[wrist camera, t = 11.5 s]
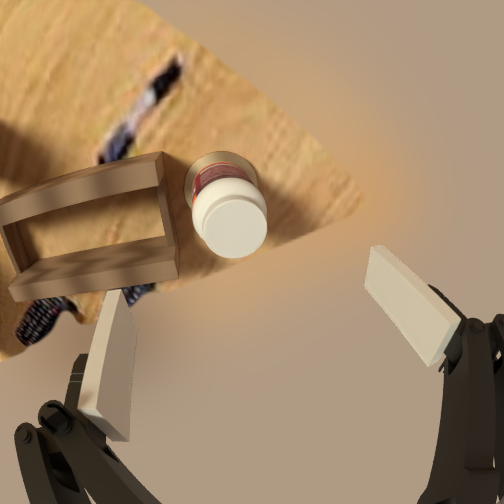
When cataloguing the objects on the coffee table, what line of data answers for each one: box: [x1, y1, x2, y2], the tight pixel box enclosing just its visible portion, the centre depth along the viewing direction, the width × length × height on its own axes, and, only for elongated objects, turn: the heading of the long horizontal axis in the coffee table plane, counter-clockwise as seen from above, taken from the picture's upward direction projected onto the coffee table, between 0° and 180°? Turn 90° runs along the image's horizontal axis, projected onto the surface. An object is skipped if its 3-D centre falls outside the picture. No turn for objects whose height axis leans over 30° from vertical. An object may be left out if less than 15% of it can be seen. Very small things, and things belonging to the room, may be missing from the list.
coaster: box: [184, 151, 258, 210], centre depth 29 cm, size 8×8×1 cm
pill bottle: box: [192, 161, 267, 259], centre depth 24 cm, size 6×6×11 cm
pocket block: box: [0, 151, 180, 302], centre depth 25 cm, size 22×12×6 cm, turn 94°
